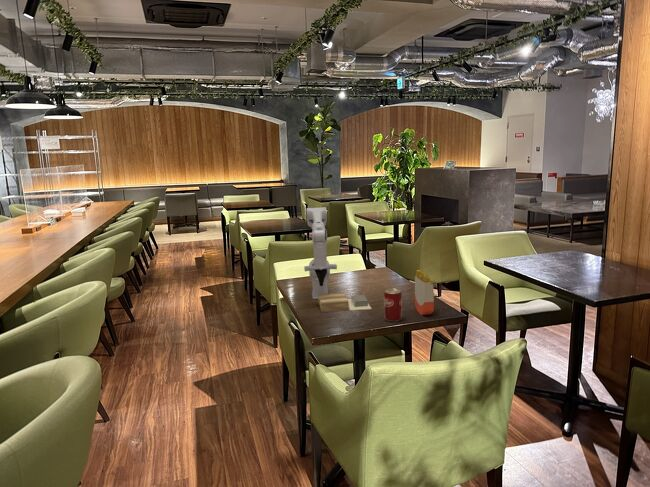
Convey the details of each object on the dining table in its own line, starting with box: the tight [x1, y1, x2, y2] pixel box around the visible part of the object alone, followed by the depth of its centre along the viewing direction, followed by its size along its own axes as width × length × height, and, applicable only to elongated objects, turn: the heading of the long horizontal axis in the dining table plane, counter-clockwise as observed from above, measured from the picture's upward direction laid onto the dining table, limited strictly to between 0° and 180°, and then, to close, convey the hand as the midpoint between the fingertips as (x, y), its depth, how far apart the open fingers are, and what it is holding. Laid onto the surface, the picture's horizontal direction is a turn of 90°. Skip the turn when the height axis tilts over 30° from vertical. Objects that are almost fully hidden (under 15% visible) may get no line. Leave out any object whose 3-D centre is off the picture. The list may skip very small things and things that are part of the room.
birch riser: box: [317, 292, 350, 313], centre depth 220 cm, size 14×12×4 cm
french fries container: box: [414, 269, 435, 316], centre depth 206 cm, size 5×11×18 cm, turn 11°
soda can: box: [383, 288, 403, 323], centre depth 200 cm, size 7×7×12 cm
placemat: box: [347, 298, 372, 312], centre depth 222 cm, size 16×10×1 cm, turn 7°
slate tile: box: [350, 294, 369, 307], centre depth 221 cm, size 9×6×2 cm, turn 7°
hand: (321, 285), depth 220 cm, fingers closed
